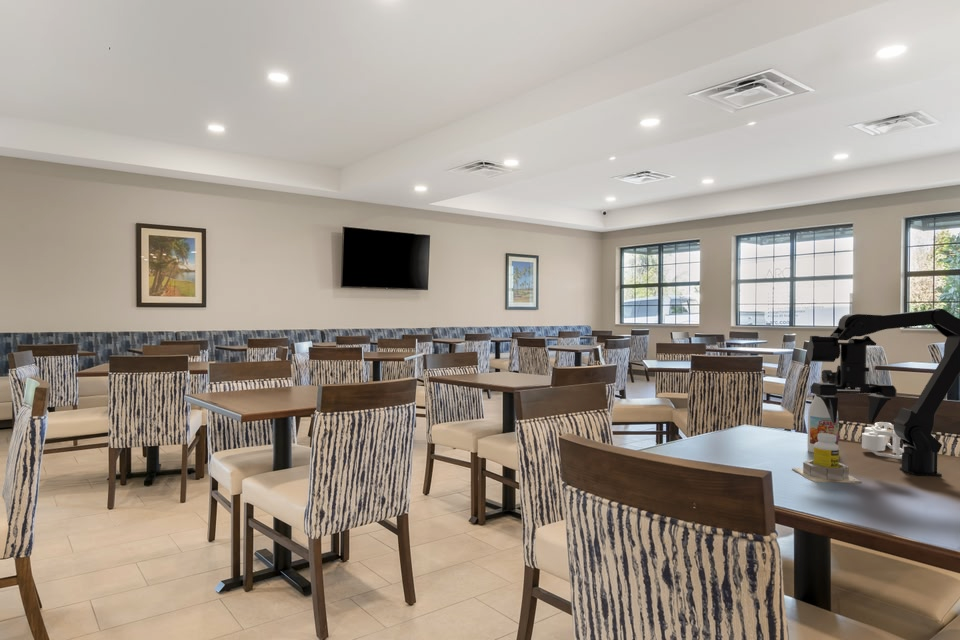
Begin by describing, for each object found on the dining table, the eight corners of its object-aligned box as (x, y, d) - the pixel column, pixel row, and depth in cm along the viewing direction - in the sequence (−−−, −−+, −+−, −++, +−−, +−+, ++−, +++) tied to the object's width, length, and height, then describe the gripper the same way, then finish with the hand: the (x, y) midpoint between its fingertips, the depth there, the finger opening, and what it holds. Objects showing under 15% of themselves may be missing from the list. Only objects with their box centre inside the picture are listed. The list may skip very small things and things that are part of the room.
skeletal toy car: (865, 443, 188) (865, 420, 188) (909, 448, 182) (909, 424, 182) (860, 455, 172) (860, 430, 172) (908, 461, 166) (908, 434, 166)
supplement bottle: (833, 478, 144) (834, 437, 144) (809, 473, 148) (810, 434, 148) (842, 475, 147) (843, 434, 147) (818, 470, 151) (819, 431, 151)
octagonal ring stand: (836, 472, 153) (837, 459, 153) (861, 484, 142) (861, 470, 142) (792, 471, 153) (792, 458, 153) (813, 483, 142) (813, 469, 142)
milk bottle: (801, 450, 177) (802, 382, 177) (821, 449, 179) (822, 382, 179) (823, 456, 170) (824, 385, 170) (844, 455, 172) (845, 385, 172)
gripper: (872, 360, 163) (871, 418, 163) (801, 359, 164) (800, 417, 164) (898, 364, 152) (897, 426, 152) (821, 363, 153) (820, 424, 153)
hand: (852, 423), depth 156 cm, fingers open, 9 cm apart
